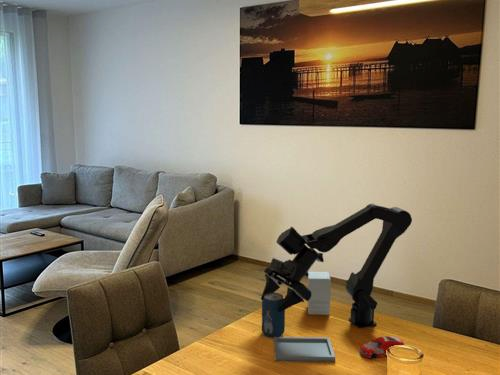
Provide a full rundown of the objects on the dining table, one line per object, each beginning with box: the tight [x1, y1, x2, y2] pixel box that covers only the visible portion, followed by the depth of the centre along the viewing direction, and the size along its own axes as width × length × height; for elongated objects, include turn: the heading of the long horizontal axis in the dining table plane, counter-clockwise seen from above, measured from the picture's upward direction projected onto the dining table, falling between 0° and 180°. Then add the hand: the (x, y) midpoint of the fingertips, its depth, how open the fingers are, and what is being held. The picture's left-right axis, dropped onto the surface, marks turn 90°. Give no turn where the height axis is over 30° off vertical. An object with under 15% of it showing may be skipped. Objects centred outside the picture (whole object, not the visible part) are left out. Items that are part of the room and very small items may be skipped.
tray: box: [273, 336, 336, 363], centre depth 128 cm, size 16×11×2 cm
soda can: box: [261, 292, 286, 339], centre depth 138 cm, size 7×7×12 cm
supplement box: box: [306, 270, 332, 316], centre depth 155 cm, size 7×7×13 cm
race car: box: [359, 335, 405, 360], centre depth 128 cm, size 13×5×4 cm, turn 108°
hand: (269, 305), depth 137 cm, fingers open, 9 cm apart
